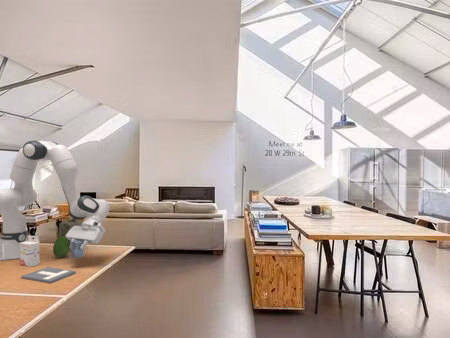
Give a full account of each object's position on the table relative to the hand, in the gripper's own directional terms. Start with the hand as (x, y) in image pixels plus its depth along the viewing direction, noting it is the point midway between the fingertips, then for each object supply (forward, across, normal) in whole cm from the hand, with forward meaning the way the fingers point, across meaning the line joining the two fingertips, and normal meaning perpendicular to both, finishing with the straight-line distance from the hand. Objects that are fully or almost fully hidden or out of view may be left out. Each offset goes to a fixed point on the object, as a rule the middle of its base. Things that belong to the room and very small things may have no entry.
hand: (75, 248), depth 159 cm
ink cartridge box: (+11, -25, +4) cm, 28 cm away
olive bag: (-11, -29, +26) cm, 40 cm away
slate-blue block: (+3, 0, +4) cm, 5 cm away
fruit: (0, -21, +15) cm, 26 cm away
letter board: (+17, -2, -3) cm, 17 cm away
